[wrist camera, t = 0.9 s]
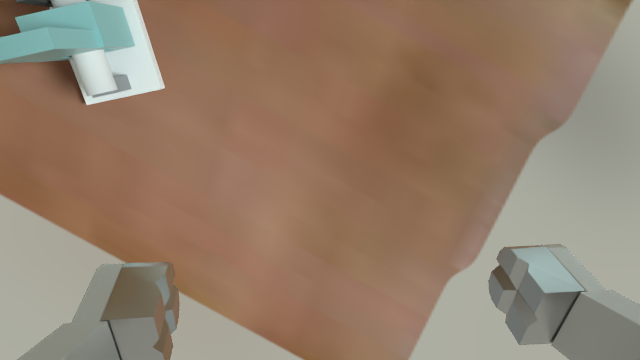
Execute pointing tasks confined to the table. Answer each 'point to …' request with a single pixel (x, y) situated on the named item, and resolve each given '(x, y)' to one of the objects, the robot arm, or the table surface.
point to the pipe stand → (117, 61)
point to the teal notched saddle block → (67, 33)
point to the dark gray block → (37, 2)
